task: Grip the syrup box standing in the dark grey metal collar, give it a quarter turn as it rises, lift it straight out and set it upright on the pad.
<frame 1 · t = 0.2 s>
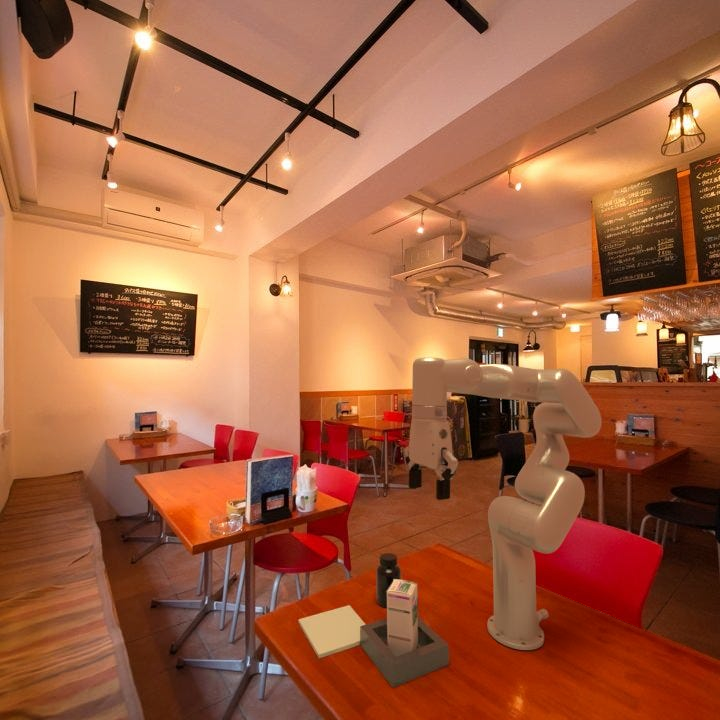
hand: (428, 493, 84), 36 cm above the table, tool pointing down, fingers open, 9 cm apart
syrup box: (402, 655, 84), resting in collar
collar: (402, 654, 84), on the table
supplement bottle: (388, 602, 105), on the table
pad: (335, 630, 92), on the table
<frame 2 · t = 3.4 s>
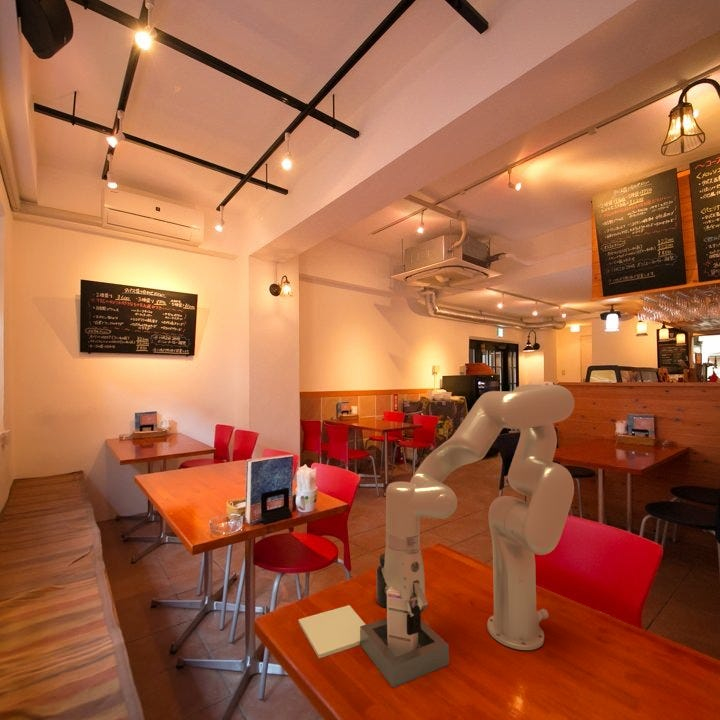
hand: (402, 621, 85), 7 cm above the table, tool pointing down, fingers closed on syrup box, 7 cm apart
syrup box: (402, 655, 84), resting in collar, touching gripper
everything else where it was.
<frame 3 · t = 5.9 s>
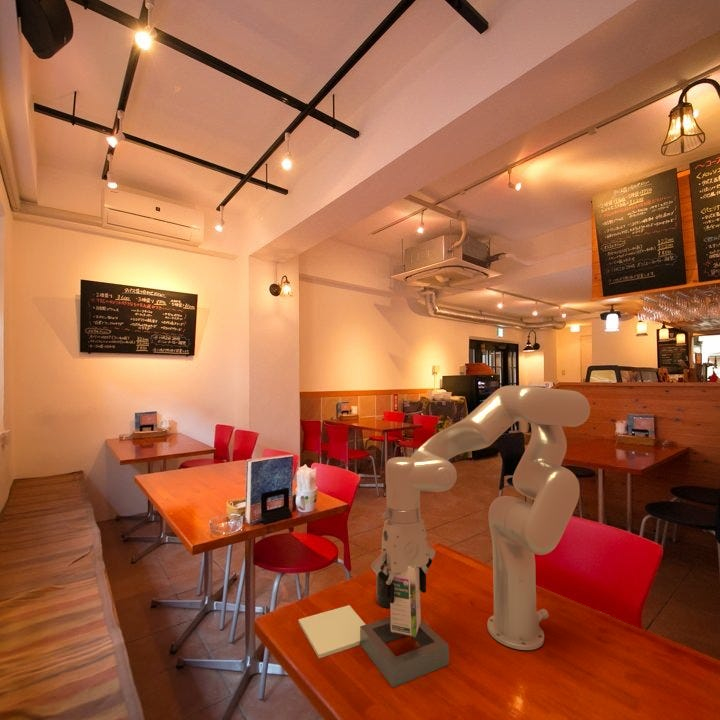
hand: (405, 594, 85), 13 cm above the table, tool pointing down, fingers closed on syrup box, 7 cm apart
syrup box: (406, 628, 85), point 5 cm above the table, touching gripper
everything else where it was.
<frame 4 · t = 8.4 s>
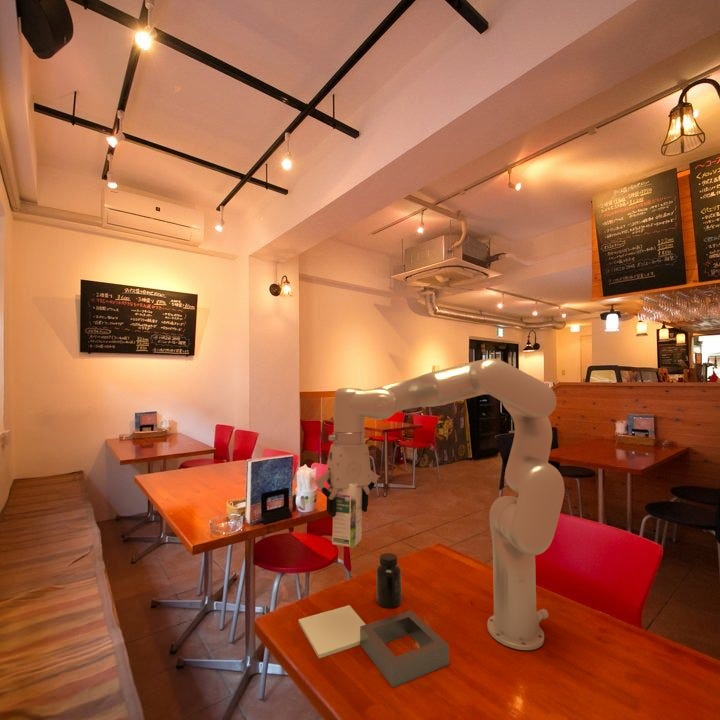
hand: (347, 512, 93), 28 cm above the table, tool pointing down, fingers closed on syrup box, 7 cm apart
syrup box: (347, 542, 92), point 21 cm above the table, touching gripper
everything else where it was.
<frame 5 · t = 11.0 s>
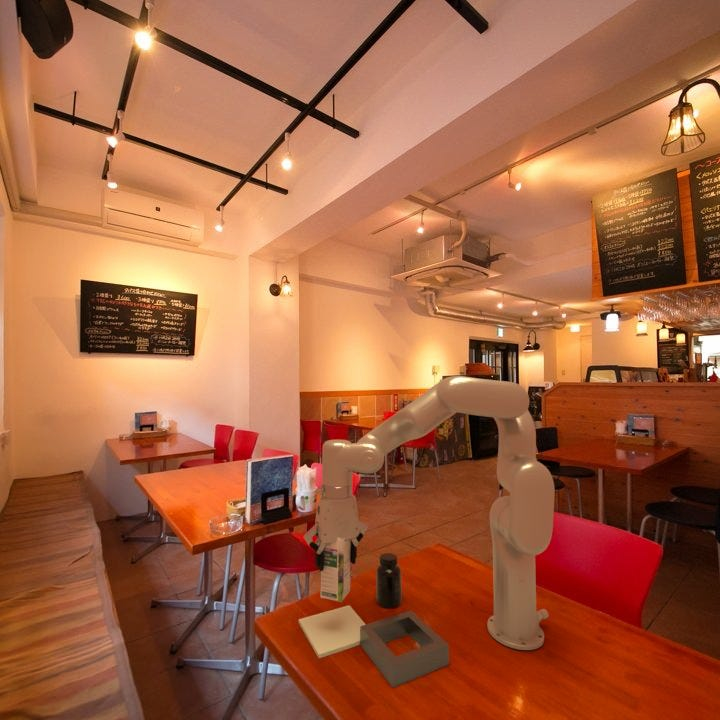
hand: (335, 564, 93), 15 cm above the table, tool pointing down, fingers closed on syrup box, 7 cm apart
syrup box: (335, 595, 93), point 8 cm above the table, touching gripper
everything else where it was.
when the fingers open (9 cm above the table, at t = 13.4 s): syrup box stays where it is, resting on pad.
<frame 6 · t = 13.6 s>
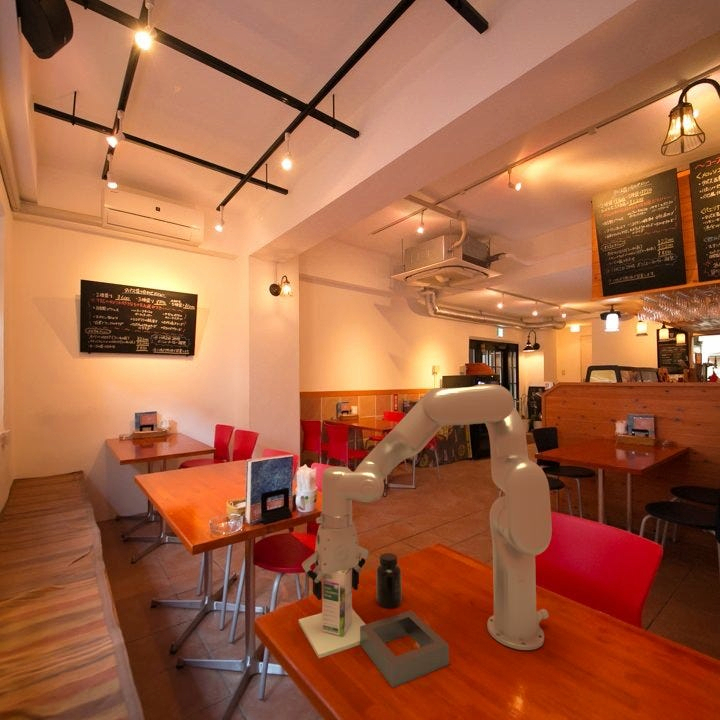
hand: (336, 592, 93), 9 cm above the table, tool pointing down, fingers open, 9 cm apart
syrup box: (337, 628, 92), point 1 cm above the table, touching pad
everything else where it was.
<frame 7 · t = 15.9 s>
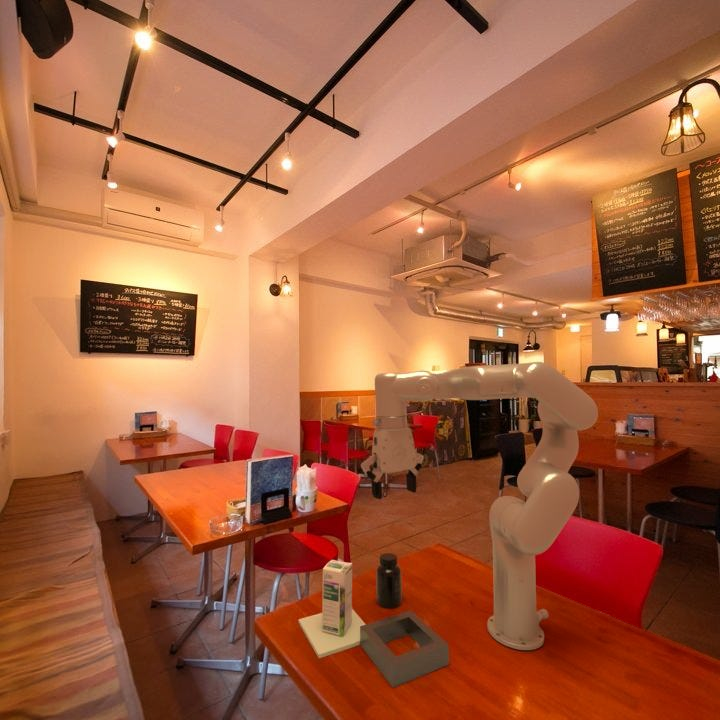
hand: (394, 494, 93), 33 cm above the table, tool pointing down, fingers open, 9 cm apart
nothing on the table moved.
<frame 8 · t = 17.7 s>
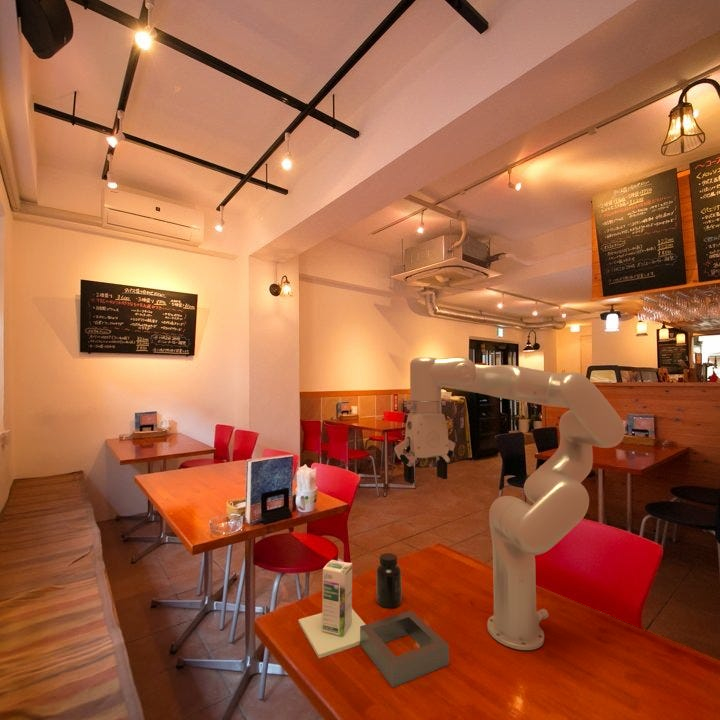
hand: (426, 480, 92), 36 cm above the table, tool pointing down, fingers open, 9 cm apart
nothing on the table moved.
at the end: syrup box inside the target area on the pad (0.4 cm from its centre), point 0.6 cm above the pad's base; syrup box tilted 0°; the gripper is holding nothing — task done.
